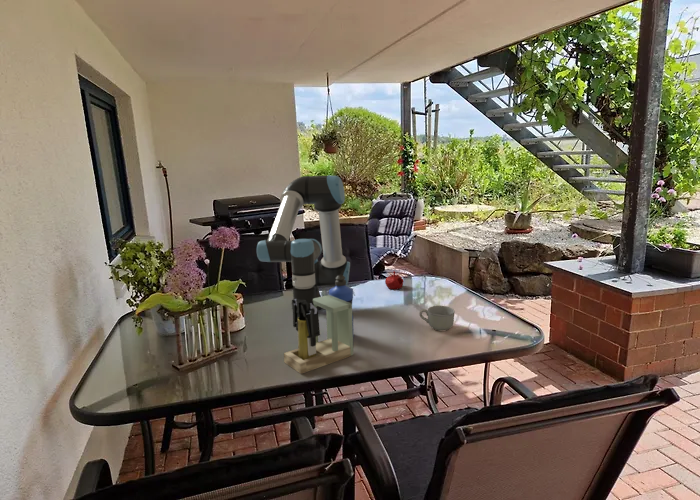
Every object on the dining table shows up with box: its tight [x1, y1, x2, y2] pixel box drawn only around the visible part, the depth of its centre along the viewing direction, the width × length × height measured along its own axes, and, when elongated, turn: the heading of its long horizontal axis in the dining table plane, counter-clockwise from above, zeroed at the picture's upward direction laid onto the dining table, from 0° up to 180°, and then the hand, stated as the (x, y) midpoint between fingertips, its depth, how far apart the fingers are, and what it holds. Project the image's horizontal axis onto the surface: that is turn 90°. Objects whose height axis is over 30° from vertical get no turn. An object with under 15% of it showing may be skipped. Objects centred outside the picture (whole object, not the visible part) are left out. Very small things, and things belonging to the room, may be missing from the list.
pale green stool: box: [313, 294, 354, 356], centre depth 158 cm, size 14×8×19 cm, turn 38°
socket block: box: [283, 338, 352, 375], centre depth 153 cm, size 11×20×4 cm, turn 128°
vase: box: [297, 317, 316, 360], centre depth 149 cm, size 6×6×14 cm
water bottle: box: [328, 275, 355, 338], centre depth 171 cm, size 9×9×25 cm
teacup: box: [418, 305, 455, 331], centre depth 179 cm, size 14×11×8 cm
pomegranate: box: [384, 270, 404, 290], centre depth 237 cm, size 10×10×9 cm
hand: (307, 351), depth 150 cm, fingers closed on vase, 6 cm apart
